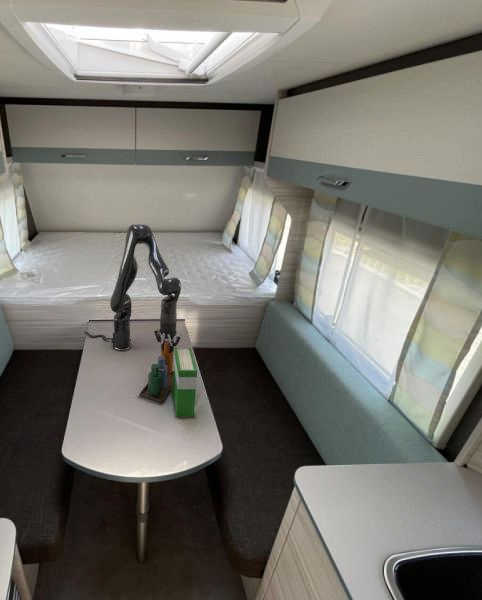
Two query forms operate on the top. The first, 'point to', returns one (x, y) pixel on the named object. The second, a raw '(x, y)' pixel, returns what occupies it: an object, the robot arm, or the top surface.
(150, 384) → the green bottle
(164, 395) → the tray
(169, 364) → the amber bottle
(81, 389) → the top surface
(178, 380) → the hardback book
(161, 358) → the slate bottle
